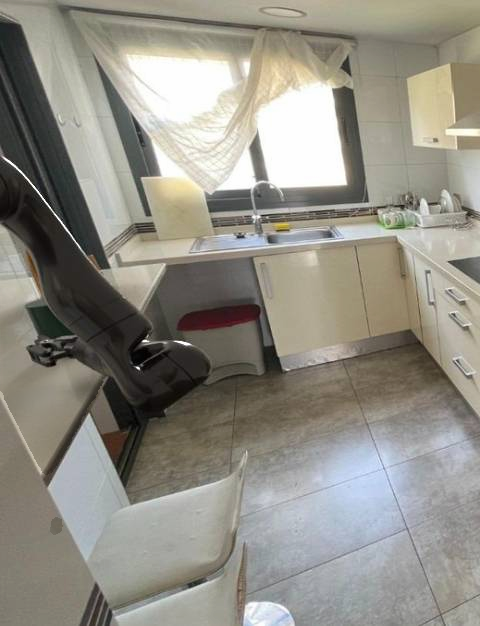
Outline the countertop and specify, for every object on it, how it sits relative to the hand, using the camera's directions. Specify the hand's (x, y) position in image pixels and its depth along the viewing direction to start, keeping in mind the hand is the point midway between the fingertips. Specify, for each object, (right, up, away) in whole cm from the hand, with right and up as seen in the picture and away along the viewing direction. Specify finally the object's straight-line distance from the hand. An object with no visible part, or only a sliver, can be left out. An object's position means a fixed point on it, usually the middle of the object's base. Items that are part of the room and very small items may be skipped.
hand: (75, 331), depth 81 cm
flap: (-25, +14, +23) cm, 37 cm away
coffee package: (-39, +8, +36) cm, 54 cm away
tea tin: (-8, -4, +6) cm, 11 cm away
